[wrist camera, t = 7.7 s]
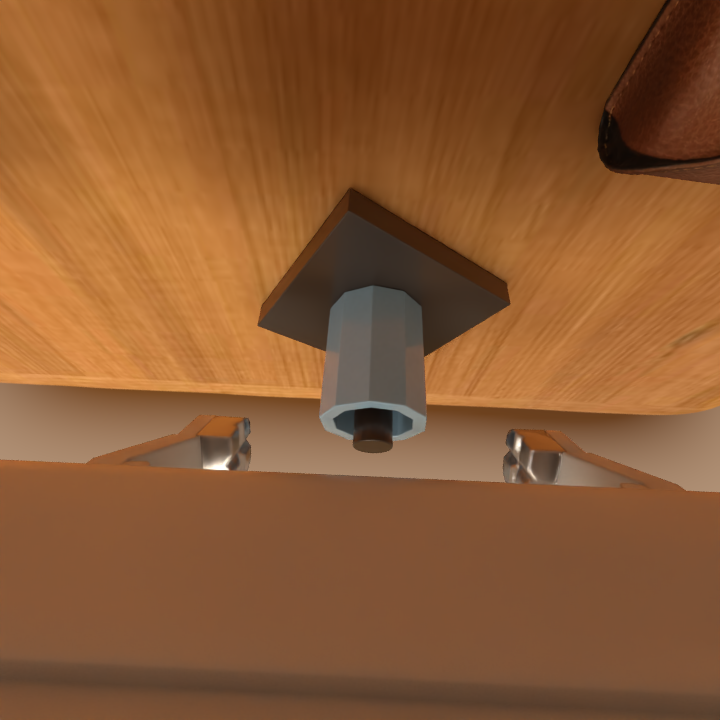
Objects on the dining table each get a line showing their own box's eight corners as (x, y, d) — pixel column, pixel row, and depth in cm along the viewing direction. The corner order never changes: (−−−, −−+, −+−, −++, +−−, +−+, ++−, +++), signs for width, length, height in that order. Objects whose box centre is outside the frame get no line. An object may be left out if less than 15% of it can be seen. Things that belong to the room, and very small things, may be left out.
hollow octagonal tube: (382, 270, 21) (379, 391, 17) (439, 321, 24) (447, 430, 21) (311, 310, 24) (297, 419, 20) (371, 350, 27) (368, 448, 24)
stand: (350, 187, 18) (333, 372, 13) (507, 283, 23) (537, 443, 18) (261, 306, 26) (230, 450, 21) (392, 358, 31) (392, 484, 26)
